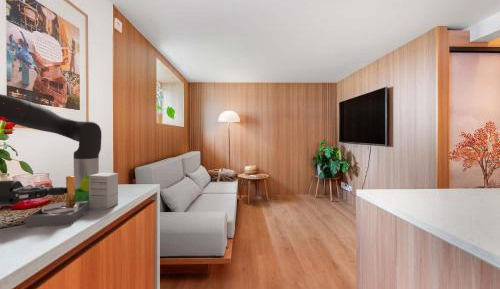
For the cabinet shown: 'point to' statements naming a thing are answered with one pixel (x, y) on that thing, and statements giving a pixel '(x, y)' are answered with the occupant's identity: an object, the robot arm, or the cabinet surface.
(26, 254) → the cabinet surface
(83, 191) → the fruit basket
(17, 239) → the cabinet surface
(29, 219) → the housing
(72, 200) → the dial
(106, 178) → the supplement box
